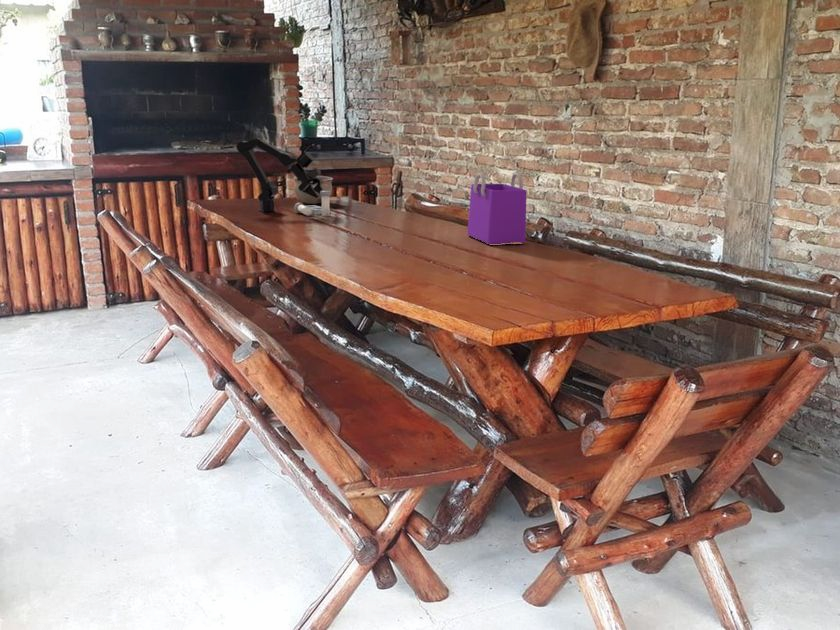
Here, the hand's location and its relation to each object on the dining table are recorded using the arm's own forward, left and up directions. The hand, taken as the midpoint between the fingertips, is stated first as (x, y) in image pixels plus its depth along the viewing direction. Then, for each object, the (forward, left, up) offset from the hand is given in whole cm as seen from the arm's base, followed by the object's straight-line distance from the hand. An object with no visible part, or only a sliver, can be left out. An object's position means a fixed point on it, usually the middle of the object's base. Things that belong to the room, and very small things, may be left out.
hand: (321, 196), depth 423 cm
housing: (+3, +12, -10) cm, 15 cm away
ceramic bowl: (+21, +41, -10) cm, 47 cm away
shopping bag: (+25, -102, -10) cm, 106 cm away
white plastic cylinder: (-8, +8, -8) cm, 14 cm away
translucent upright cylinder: (+1, -2, -10) cm, 10 cm away
